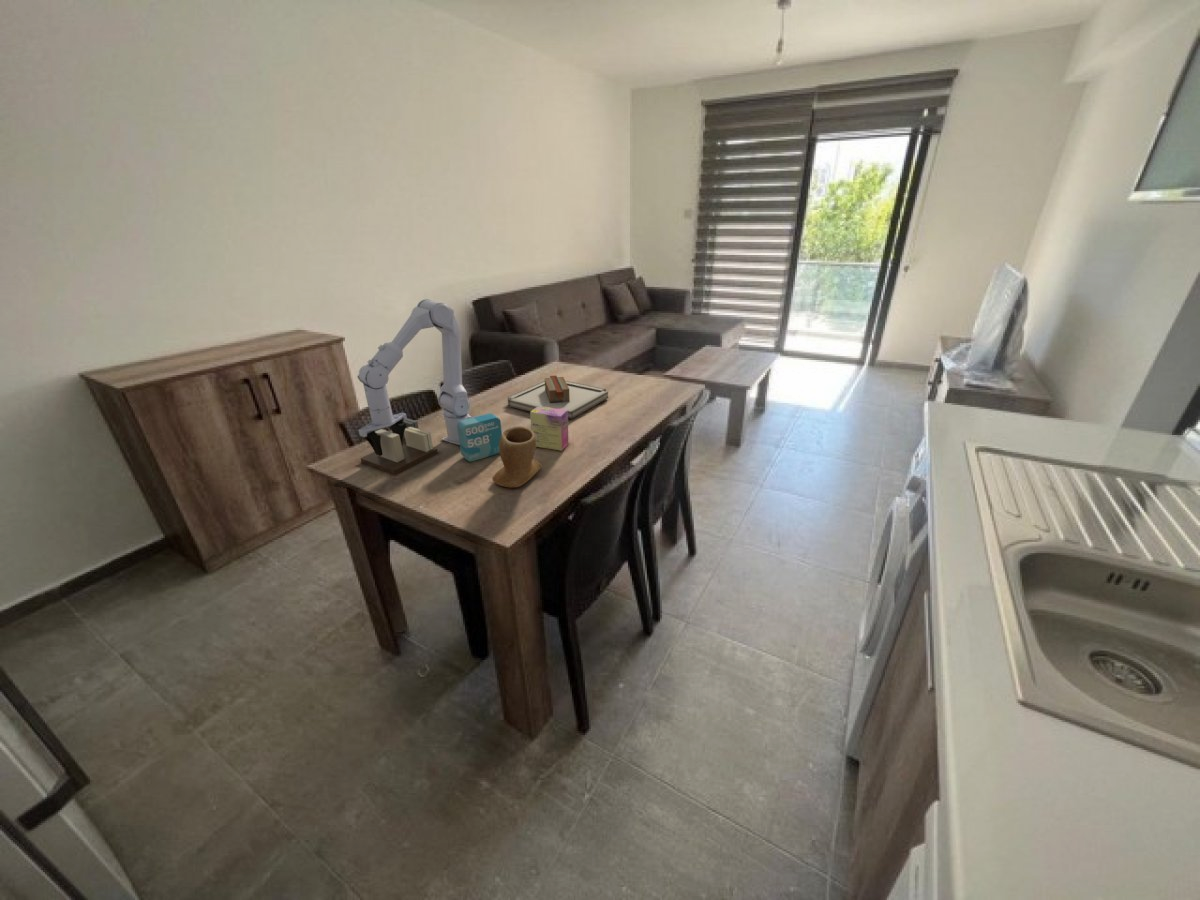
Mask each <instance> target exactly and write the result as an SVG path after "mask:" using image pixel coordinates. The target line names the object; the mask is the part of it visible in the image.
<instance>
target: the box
mask: <svg viewBox="0 0 1200 900" xmlns="http://www.w3.org/2000/svg"><path fill="white" fill-rule="evenodd" d="M529 414H530V416H529V417H530V419H529V420H530V429H531V430H532V431H533V432H534V433H535V436H536V448H542V449H547V450H548V449H550V450H555V451H559V452H562V451H563V450H564V449H565V448H566V447H567V446H568V445H569V418H568V410H562V409H554V408H547V407H540V406H538V407H536V408H535V409H534V410H532V411H531V412H529Z"/></svg>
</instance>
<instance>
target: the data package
mask: <svg viewBox="0 0 1200 900" xmlns="http://www.w3.org/2000/svg"><path fill="white" fill-rule="evenodd" d="M472 417H473V418H469V419H465V420H461V421H459V422H458V424H457V430H458V436H459V443H460V445H459V448H460V455H461V456H462V457H463V458H464V459H466V461H468V462H470V463H472V462H475V461H479V460H482V459H485V458H488V457H492V456H495V455H500V452H499V441H500V437H501V435H502V434H503V431H502V422H501V419H500V418H499V417H498V416H496V415H495V414H493V413H489V412H488V413H486V414H481V415H477V416H472Z"/></svg>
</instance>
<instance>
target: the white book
mask: <svg viewBox="0 0 1200 900" xmlns="http://www.w3.org/2000/svg"><path fill="white" fill-rule="evenodd" d="M375 433H377V435H380V436H381V449H382V455H381V457H383V458H386V459H389V460H392V461H395V462H399V461H401V460H403V459H404V454H403V450H402V445H401V440H400V436H399V434H395V433H393V432H392V431H389V430H386V429H384V428H383V429H381V430H378V431H376V432H375ZM378 456H379V455H378Z"/></svg>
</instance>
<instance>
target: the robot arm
mask: <svg viewBox="0 0 1200 900" xmlns="http://www.w3.org/2000/svg"><path fill="white" fill-rule="evenodd" d="M431 328H435V329H436V330H438V331H439V332H440V333H441V345H442V346H441V349H442V365H443V366H442V369H443V370H442V371H443V373H442V374H443V384H442V385H441V386H440V388H439V389H440V392H439V396H438V398H437V402H438V405H439V407H440V408H441V409H442V410H443V416H444V422H445V429H446V434H447V435H446V436H444V437H442V438H441V440H442V441H445V442H447V443H451V444H454V445H458V446H460V443H459V436H458V430H457V424H458V422H459V421H461V420H465V419H469V418H473V417H474V416H471V415H470V414H469V411H470V408H471V401H470V400H469V398H468V391H467V390H466V388H465V387H464V385H463V372H462V371H463V370H462V367H463V366H462V339H461V338H462V335H461V325H460V323H459V322H458V320H457V318H456V316H455V311H454V308H451V306H449V305H448V304H447V303H445V302H439V301H435V300H431V299H429V298H425V299H421V300H420V301H419V302H418V303H417V306H415V307H413V308H412V309H411V313H410V315H409V317H408V318H407V320H406V321H405V323H404V324H403V325H402V327H401V328H400V330H399V331H398V332H397V334H396V335H395V337H394V338H393V339H392V340H391V341H390V342H384V343H383V344H379V346H378V347H377V349H378V351H377V352H375V354H374V355H373V356H372V357H371V359H368V361H366V362H367V364H364V365H362V366H361V367H360V369H359V370H358V375H357V376H356V377H357V379H358V381H360V383H362V385H363V388H364V395H365V399H366V402H367V407H368V412H369V415H370V420H371V422H369V423H368V424H366V425H365V426H363V427H361V428H359V429H358V434H359V436H360V437H362V438H364V439H365V440H366V441H367V442H368V444H369V445H370V447H371V448H372V449H373V452H375V453H376V455H379V456H381V455H382V449H381V436H380V435H377V433H375V432H376V431H378V430H381V429H383V430H384V429H385V428H388V427H390V429H391V432H392V433H395V434H399V436H400V440H401V445H402V444H403V439H404V438H403V435H404V431H405V428H406V426H407V425H406V423H405V422H403V421H405V420H407V419H408V417H407V413H405V412H399V413H396V414H393V410H392V406H391V401H390V397H389V393H388V389H387V384H388V382H389V375H390V373H391V372H392V371H393V369H395V367H396V366H397V364H399V362H401V360H402V358H403V357H404V352H403V350H404V349H405V348H406V347H407V345H408V344H409V343H411V341H412V340H413V339H414V338H415V337H416V335H418V333H419V332H420V331H421V330H424V329H425V330H426V329H431Z"/></svg>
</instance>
